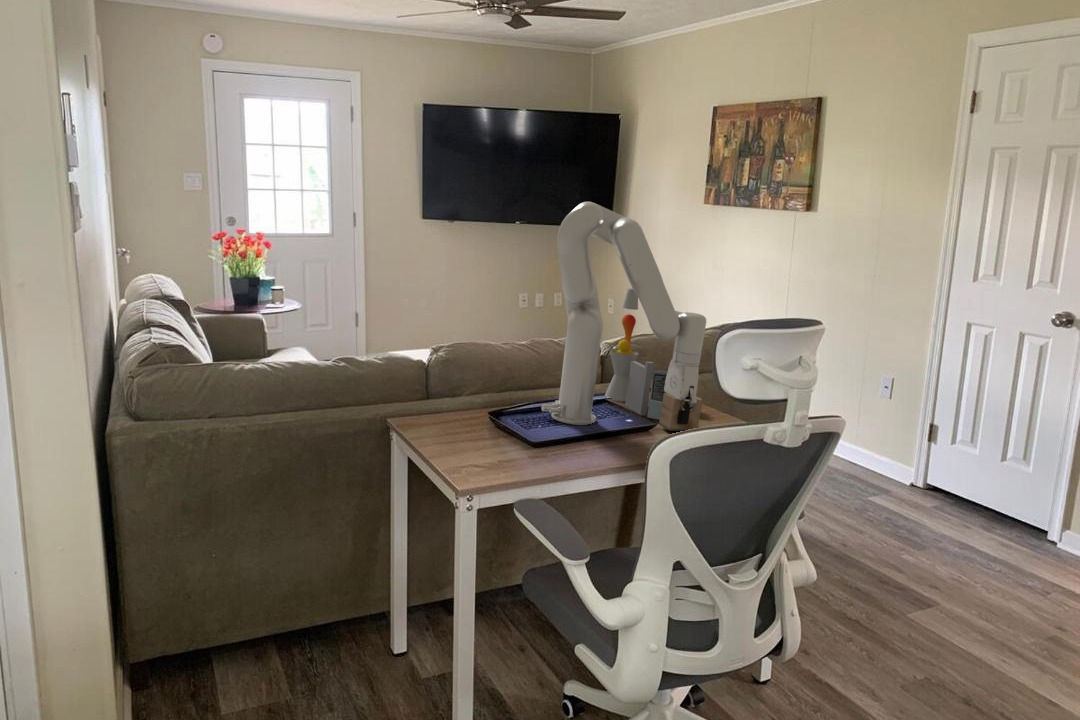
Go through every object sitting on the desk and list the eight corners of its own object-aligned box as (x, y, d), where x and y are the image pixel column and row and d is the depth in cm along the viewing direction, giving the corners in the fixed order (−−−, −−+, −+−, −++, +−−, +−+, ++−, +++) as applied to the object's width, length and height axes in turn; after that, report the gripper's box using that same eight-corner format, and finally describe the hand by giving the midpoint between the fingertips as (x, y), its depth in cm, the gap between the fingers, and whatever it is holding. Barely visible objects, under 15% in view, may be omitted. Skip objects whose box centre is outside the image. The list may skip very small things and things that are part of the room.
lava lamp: (609, 392, 263) (623, 285, 255) (635, 397, 259) (651, 289, 252) (600, 397, 255) (614, 287, 247) (627, 403, 251) (642, 291, 244)
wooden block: (669, 430, 223) (674, 399, 221) (658, 423, 228) (663, 392, 227) (697, 430, 226) (702, 399, 224) (686, 423, 232) (691, 393, 230)
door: (696, 428, 231) (699, 411, 230) (647, 417, 237) (649, 400, 236) (699, 426, 233) (701, 409, 232) (649, 415, 239) (652, 398, 238)
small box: (682, 404, 257) (687, 372, 255) (683, 410, 251) (688, 377, 249) (649, 400, 258) (653, 368, 256) (649, 405, 252) (654, 373, 250)
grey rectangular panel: (640, 415, 239) (647, 362, 236) (624, 405, 249) (631, 354, 245) (646, 415, 240) (653, 363, 237) (630, 405, 249) (637, 354, 246)
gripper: (659, 350, 229) (649, 410, 233) (691, 365, 214) (680, 430, 217) (681, 351, 232) (672, 411, 236) (715, 366, 216) (704, 430, 220)
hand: (676, 419), depth 227 cm, fingers closed on wooden block, 6 cm apart
